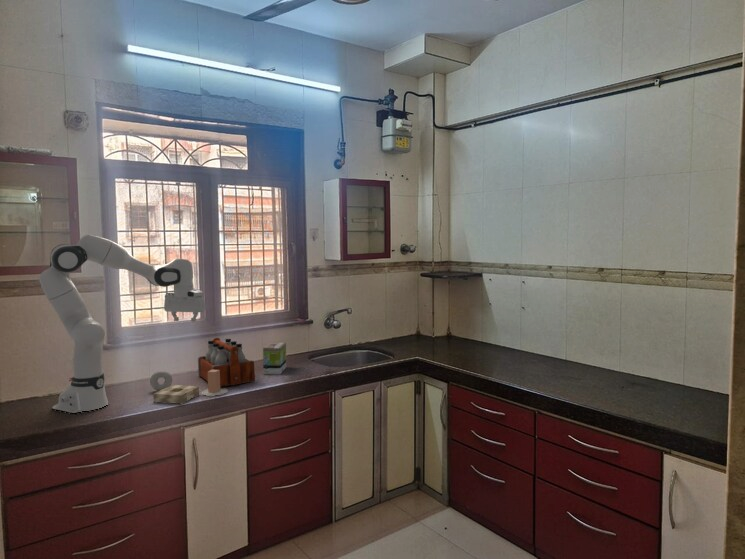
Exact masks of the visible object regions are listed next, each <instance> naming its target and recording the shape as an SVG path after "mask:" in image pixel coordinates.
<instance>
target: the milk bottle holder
mask: <svg viewBox="0 0 745 559" xmlns="http://www.w3.org/2000/svg"><path fill="white" fill-rule="evenodd" d="M224 340H225V342H223V341H222V340H220V338H219V337H214V338H213V340H208V341H207V347H208V348H207V350H206V352H205V355H201V356H200V355H199V356H198V357H197V366H198V368H197V369H198V370H197V371H198V376H199V377H200V376H201V378H203V379H204V380H205V381H207V382H208V371H210V370H220V388H222V387H227V386H235V385H241V384H246V383H252V382H255V380H256V373H255V361H254V360H249V359H247V358H246V356H245V354H244V351H243V344H242V343H238V342H237V341H235V340H234V341H231V340H232V338H225V339H224Z"/></svg>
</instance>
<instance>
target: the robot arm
mask: <svg viewBox="0 0 745 559" xmlns="http://www.w3.org/2000/svg"><path fill="white" fill-rule="evenodd" d="M49 258H50V259H49V260H50V262H49V266H50V267H49V268H47V269H45V270H43V271H42V272H41V273H40V274H39V276H38V282H39V284H40V286H41V289H42V292H43V293H44V295H45V296H46V299H47V300H48V302H49V303H50V304H51V306H52V308H53V310H54V311H55V312H56V314H57V315H58V317H59V319H60V321H61V323H62V325H63V327H64V328H65V330H66V332H67V334H68V335H69V337H70V338H71V339H72V340H73V341H74V352H73V358H72V366H73V368H72V369H73V377H70V378H69V379H68V382H70V385H69V386H68V387H66V389H64V390H63V391H62V392H61V393H60V394H59V396H58V402H57V404H55V405H53V406H52V407H51V408H53V409H58V410H63V411H67V412H72V413H76V412H81V413H83V412H82V411H89V410H94V409H98V410H100V409H99V408H102V407H104V406H106V405H108V403H109V399H108V398H107V393H106V392H107V391H106V387H105V373H103V372H104V370H103V369H104V368H103V351H104V340H105V335H106V334H105V329H104V327H103V325H102V324H101V323H100V322H98V321H96V320H95V319H94V318H93V317H92V315H91V313H90V311H89V308H88V306H87V305H86V301H85V300H84V299H83V297H82V294H81V293H80V292H79V291H78V290H79V289H77V287H76V285H75V283H74V282H73V280H72V279H71V276H70V274H71V273H72V272H75V271H77V270H78V269H80V267H81V266H82V265H84V264H85V262H87V261H90V262H93V263H96V264H98V265H101V266H103V267H107V268H111V269H116V270H126V271H130V272H131V273H135V274H137V275H138V276H141V277H143V278H145V279H146V280H147V281H148V282H149V283H150V284H151V285H153V286H155V287H162V288H166V287H171V286H173V292H169V291H168V292H166V293H165V294H164V304H163V309H164V311H165V312H170V313H171V316H172V317H173V321H174V322H179V320H180V319H179V316H177V313H192V315H193V317H191V318H190V321H191V322H193V323H195V322H197V316H198V315H199V313H203V312H204V311H205V310H206V302H205V298H204V297H203V296H204V291H202V290H199V289H197V288H195V287H194V282H193V279H194V271H193V270H194V269H193V264H192V262H191V261H190V259H187V258H179V257H177V258H174V259H173V260H172V261H169V262H168V263H166V264H163V265H161V264H149V263H148V262H145V261H142V260H140V259H138V258H136V257H134V256H133V255H131V254H130V253H129V250H127V249H126V247H124V246H123V245H120V244H118V243H117V242H115V241H112V240H110V239H107V238H104V237H102V236H97V235H92V234H86V235H83V236H81V238H80V239H79V241H78V242H77V243H76V244H75V245H72V244H68V243H61V244H58V245H56V246H55V247H54V248H53V249H52V250H51V252H50V257H49ZM108 406H109V405H108ZM106 407H107V406H106ZM104 408H105V407H104ZM102 409H103V408H102ZM94 411H95V410H94ZM89 412H90V411H89Z"/></svg>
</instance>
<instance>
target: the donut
mask: <svg viewBox="0 0 745 559" xmlns="http://www.w3.org/2000/svg"><path fill="white" fill-rule="evenodd" d="M150 376H151V377H150V378H149V383H150V386H151V388H153V389H154V391H156V392H158V391H160V390H163V389H165V388H167V387H169V386H172V385H173V384H172V383H173V378H172V375H171V373H169V372H168V371H167V370H162V369H161V370H157V371H156V372H154V373H153V374H151V375H150ZM161 378H163V379H164V382H163V383H159V381H158V380H159V379H161Z"/></svg>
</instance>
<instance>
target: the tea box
mask: <svg viewBox="0 0 745 559" xmlns="http://www.w3.org/2000/svg"><path fill="white" fill-rule="evenodd" d="M262 350H263V351H262V354H263V355H262V360H263V361H262V368H263V369H262V374H263V375H281V374H282V373H283V372H284V370H285V369H286V368H287V343H286V342H268V343H267V344H266V345H265V346H264V347H263V348H262Z"/></svg>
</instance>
